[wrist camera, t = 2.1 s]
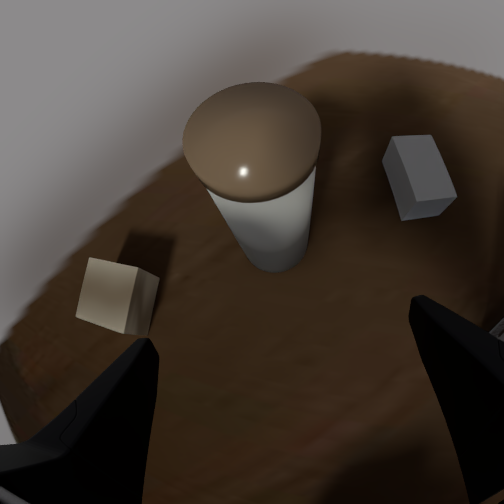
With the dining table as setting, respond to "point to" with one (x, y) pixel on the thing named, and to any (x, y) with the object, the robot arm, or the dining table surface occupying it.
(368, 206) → the dining table surface
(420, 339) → the robot arm
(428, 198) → the grey block
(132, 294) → the birch block
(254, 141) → the ceramic jar
